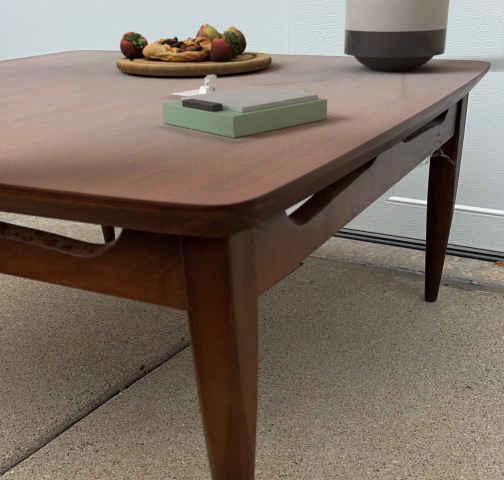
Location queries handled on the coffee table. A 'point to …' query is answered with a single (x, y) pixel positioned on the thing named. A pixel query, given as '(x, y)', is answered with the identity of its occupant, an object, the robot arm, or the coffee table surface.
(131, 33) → the wooden plate
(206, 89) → the adhesive hook
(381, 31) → the planter
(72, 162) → the coffee table surface
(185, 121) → the scale
